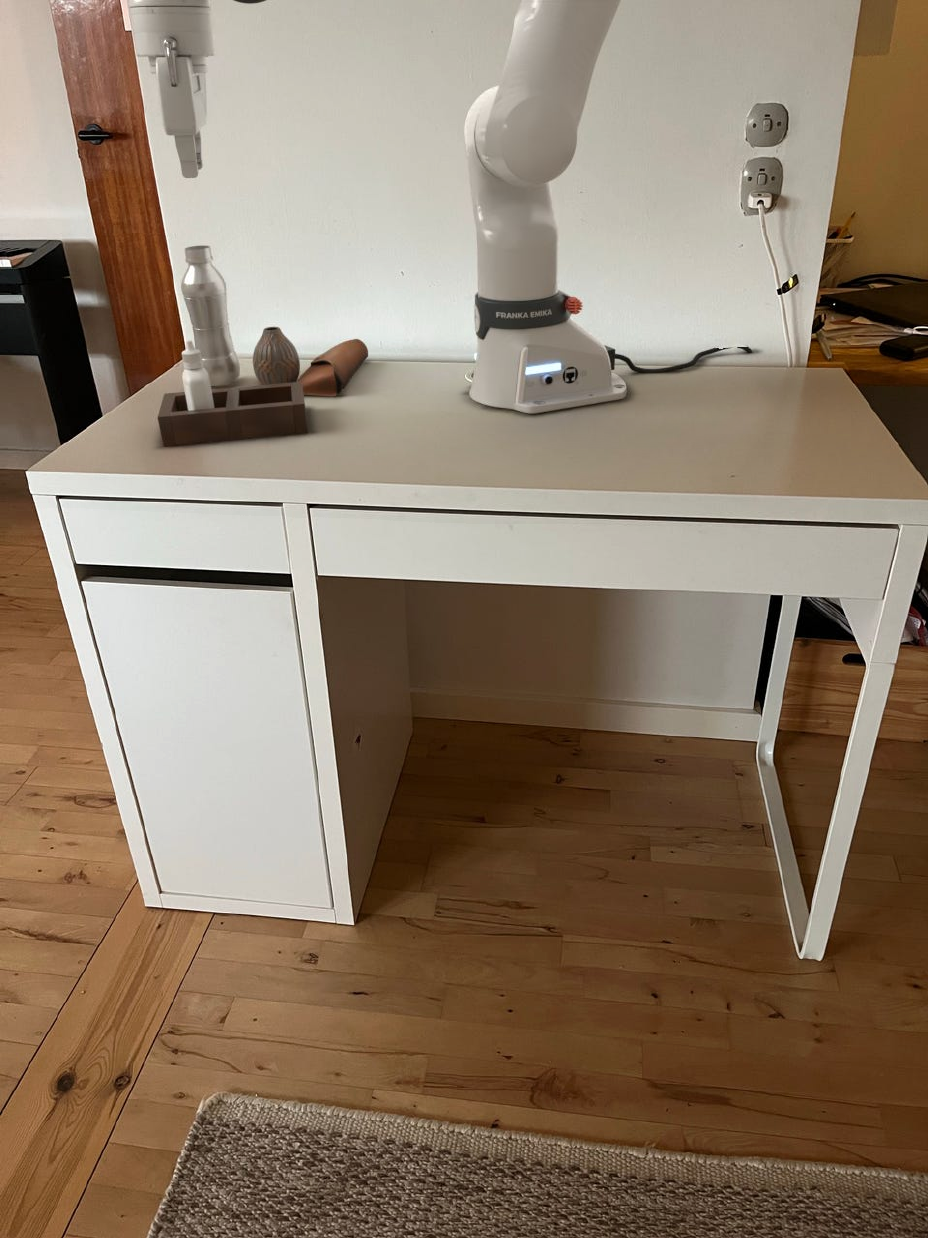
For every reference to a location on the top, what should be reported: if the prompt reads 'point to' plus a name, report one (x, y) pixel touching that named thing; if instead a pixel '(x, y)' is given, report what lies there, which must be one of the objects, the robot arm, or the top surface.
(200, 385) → the eye dropper bottle
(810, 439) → the top surface
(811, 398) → the top surface
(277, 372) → the vase
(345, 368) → the sunglasses case
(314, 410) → the top surface
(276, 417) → the stand
